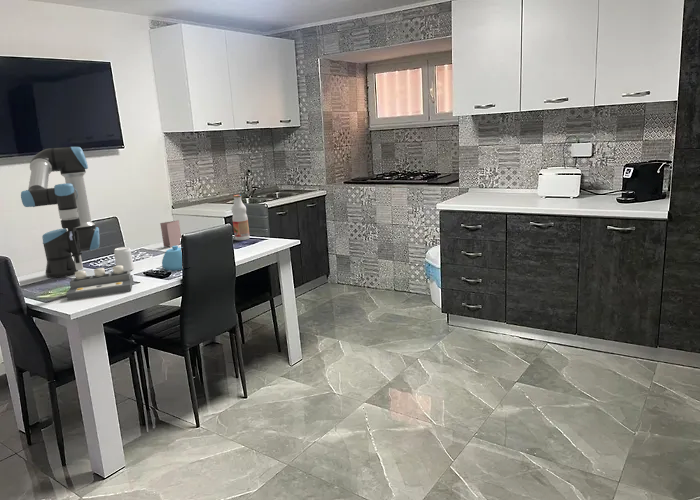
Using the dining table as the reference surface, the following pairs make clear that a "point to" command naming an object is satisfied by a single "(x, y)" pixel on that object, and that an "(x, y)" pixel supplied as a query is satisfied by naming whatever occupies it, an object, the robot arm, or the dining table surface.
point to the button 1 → (80, 274)
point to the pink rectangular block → (171, 233)
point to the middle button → (99, 272)
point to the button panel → (100, 285)
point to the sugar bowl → (172, 259)
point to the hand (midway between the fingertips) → (79, 269)
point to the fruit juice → (240, 219)
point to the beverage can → (124, 258)
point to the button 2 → (118, 269)
